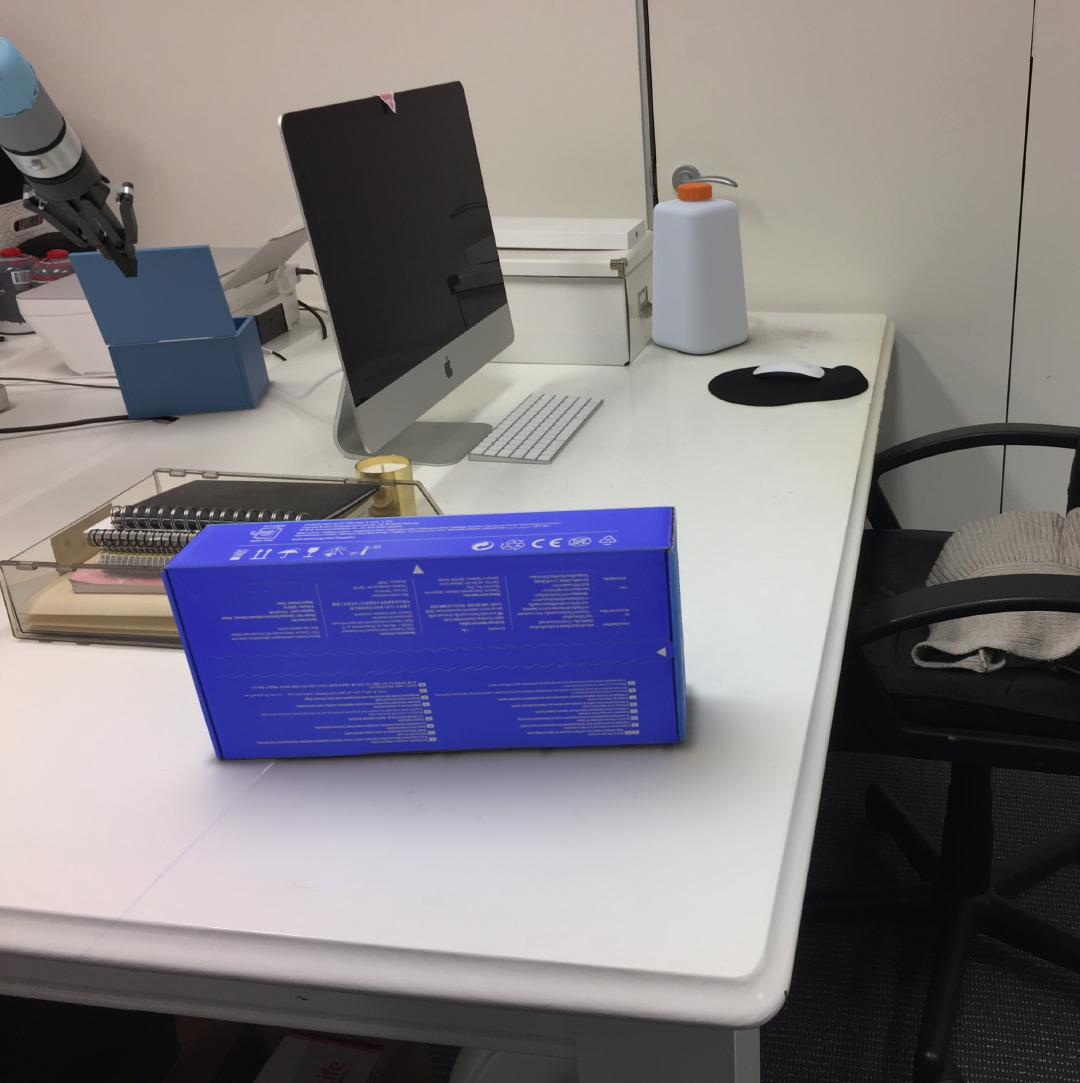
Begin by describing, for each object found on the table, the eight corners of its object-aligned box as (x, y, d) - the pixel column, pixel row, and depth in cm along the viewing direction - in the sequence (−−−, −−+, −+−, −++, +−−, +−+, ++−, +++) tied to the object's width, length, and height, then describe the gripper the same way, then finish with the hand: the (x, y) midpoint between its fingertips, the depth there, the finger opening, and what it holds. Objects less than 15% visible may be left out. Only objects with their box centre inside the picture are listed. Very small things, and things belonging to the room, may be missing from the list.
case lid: (69, 253, 147) (68, 255, 147) (208, 244, 150) (207, 247, 150) (107, 342, 157) (105, 345, 156) (237, 332, 160) (236, 335, 159)
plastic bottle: (700, 327, 202) (694, 176, 190) (758, 340, 193) (756, 182, 180) (643, 344, 193) (633, 186, 180) (701, 359, 183) (694, 193, 171)
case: (153, 393, 174) (133, 324, 169) (270, 383, 177) (254, 315, 172) (129, 420, 162) (107, 347, 157) (254, 409, 165) (237, 336, 160)
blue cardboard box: (687, 690, 93) (678, 502, 85) (686, 749, 85) (675, 549, 77) (254, 703, 93) (202, 517, 85) (214, 763, 85) (153, 565, 77)
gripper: (-13, 184, 120) (80, 295, 142) (108, 178, 122) (181, 288, 144) (-10, 131, 122) (81, 249, 145) (109, 126, 125) (181, 243, 147)
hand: (131, 268), depth 144 cm, fingers closed
